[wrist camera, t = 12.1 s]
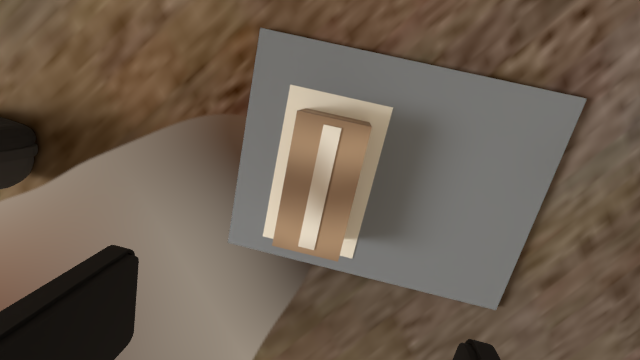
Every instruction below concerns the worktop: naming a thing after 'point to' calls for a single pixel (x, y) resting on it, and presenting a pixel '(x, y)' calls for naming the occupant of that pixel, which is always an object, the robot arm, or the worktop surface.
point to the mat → (408, 163)
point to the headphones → (15, 152)
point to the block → (320, 182)
